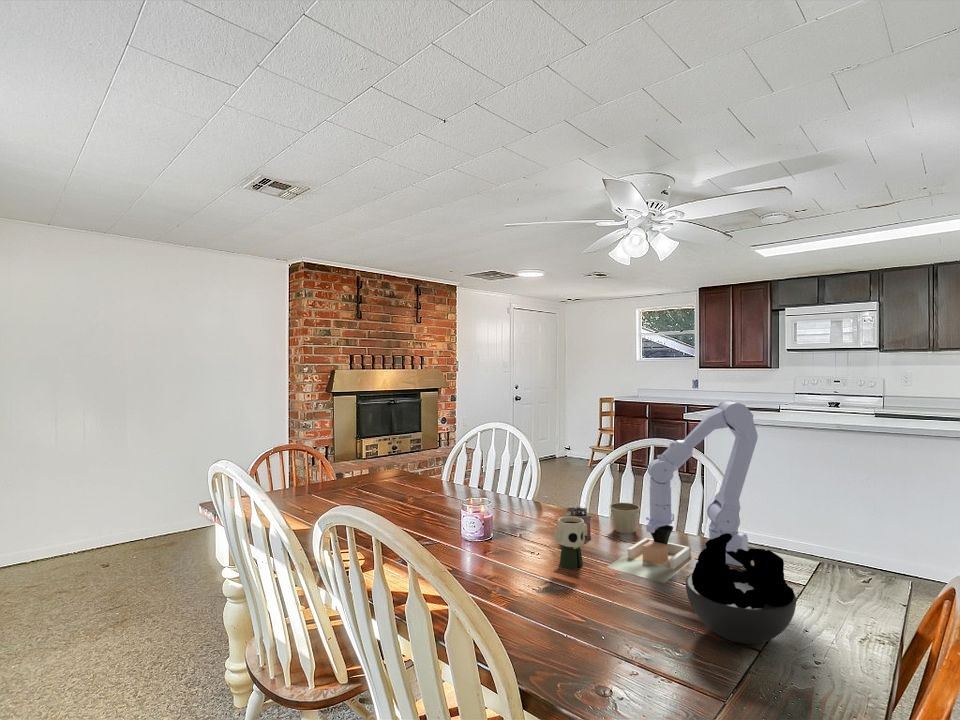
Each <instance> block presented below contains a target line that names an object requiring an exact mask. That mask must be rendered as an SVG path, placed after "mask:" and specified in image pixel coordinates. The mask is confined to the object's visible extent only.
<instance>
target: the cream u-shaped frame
mask: <svg viewBox="0 0 960 720" xmlns="http://www.w3.org/2000/svg"><path fill="white" fill-rule="evenodd" d="M649 541H653V542H654V540H653V538H649V537H645V538H643V539H641V540H640V541H638V542H636V543H635V544H634V545H633V544H632V545H631V546H630V547H628V548H627V554H628V558H633V557H634V556H636V555H638V554H639V553H641V552H642V551H643V545H644V544H646V543H648V542H649ZM667 545H668V553H673V554H676V555H675V556H673V557H672V558H671V559H670V568H671V569H675V568H676V567H678V566H679V565H680V564H681V563H683V562H684V561H685V560H687V559H688V558H689V557H690V556H692V548H691V547H690V546H688V545H682V544H677V543H672V542H669V541H668V544H667Z"/></svg>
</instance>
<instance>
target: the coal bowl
mask: <svg viewBox="0 0 960 720" xmlns="http://www.w3.org/2000/svg"><path fill="white" fill-rule="evenodd" d="M732 537H733V536H732V535H731V534H728V533H726V534H722V535H720V536H719V537H716V538H714V539H709V538H708V540H707V541H706V542H705V548H703V549H702V550H701V551H700V553H699V554H698V557H697V562H696V563H695V566H694V568H693V571H692V573H690V574H688V576H687V577H686V579H685V581H684V583H685V590H686V591H685V592H686V595H687V598H688V601H689V603H690V606H691V608H692V610H693V611H694V613H695V614H696V616H697V617H698V619H700V621H701V622H702V623H703V624H704V625H705V626H706V628H708V629H710V630H711V631H712V632H713V633H715V634H716V635H718V636H720V637H722V638H724V639H726V640H727V641H731V642H735V643H738V644H739V643H740V644H744V645H745V644H746V645H755V644H762V643H765V642H768V641H771V640H773V639H774V638H776V637H778V636H780V634H781V633H783V632H784V631H785V630H786V628H787V627H788V626H790V625H789V624H790V623H791V621H792V619H793V617H794V614H795V612H796V607H797V597H796V594H795V592H794V589H793V588H792V587H791V586H789V585H788V583H787V581H786V579H785V572H784V571H785V570H784V568H785V567H784V566H785V561H784V559H783V558H782V557H781V556H779V555H778V554H776V553H774V552H773V551H772V550H770V549H767V550H766V549H764V548H748V551H745V550H743V549H737V552H734V551H726V546H727V543H728V542H729V541H730V540H731V539H732ZM726 553H727V554H729V555H730V556H731V557H732V558H733V559H735V560H736V561H738V562H739V563H741V564H742V565H743V566H744V568H745V569H744V570H741V569H740V570H738V569H735V568H730V566H729V564H727V563H726ZM752 561H753V565H752V563H751V562H752Z"/></svg>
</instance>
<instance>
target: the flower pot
mask: <svg viewBox="0 0 960 720" xmlns="http://www.w3.org/2000/svg"><path fill="white" fill-rule="evenodd" d="M609 508H610V512H611V513H612V519H613V520H612V521H613V526H614V531H616V532H617V533H622V534H634V533H635V532H636V528H637V519H638V514H639V511H640V509H641V507H640V506H639V504H638V505H637V504H635V503H629V502H615V503H611V504H610V505H609Z"/></svg>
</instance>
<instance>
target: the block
mask: <svg viewBox="0 0 960 720" xmlns="http://www.w3.org/2000/svg"><path fill="white" fill-rule="evenodd" d="M643 560H644V561H648V562H652V563H656V564H660V565H661V564H662V563H663V562H665V561H666V560H668V545H667V544H663V543H658V542H653V541H649V542H648V543H646V544H644V545H643Z"/></svg>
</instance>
